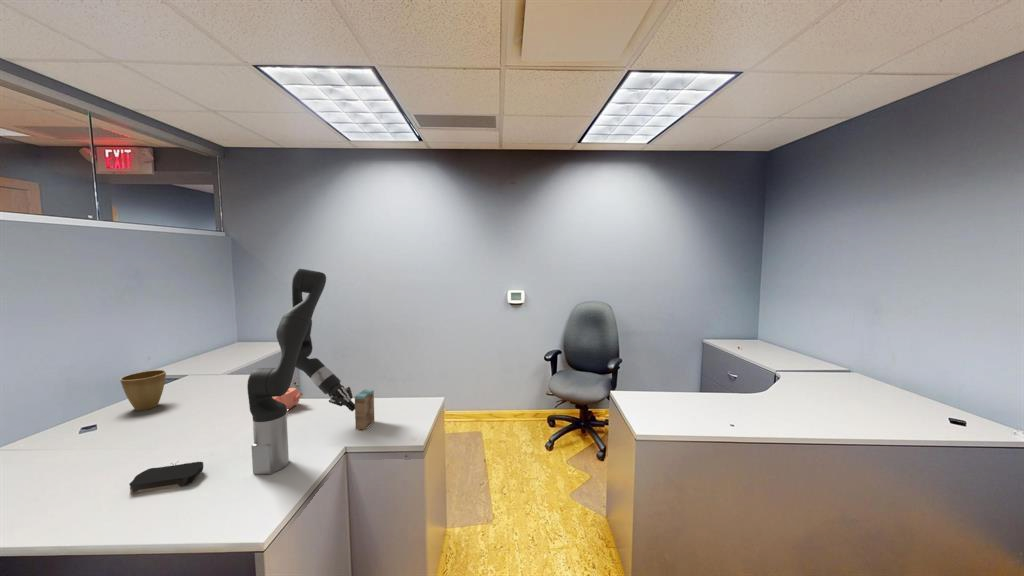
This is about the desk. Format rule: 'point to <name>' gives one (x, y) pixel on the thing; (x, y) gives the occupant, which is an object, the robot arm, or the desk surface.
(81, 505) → the desk surface
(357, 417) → the walnut block
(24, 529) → the desk surface
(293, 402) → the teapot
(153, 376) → the plant pot
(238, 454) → the desk surface
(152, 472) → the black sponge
